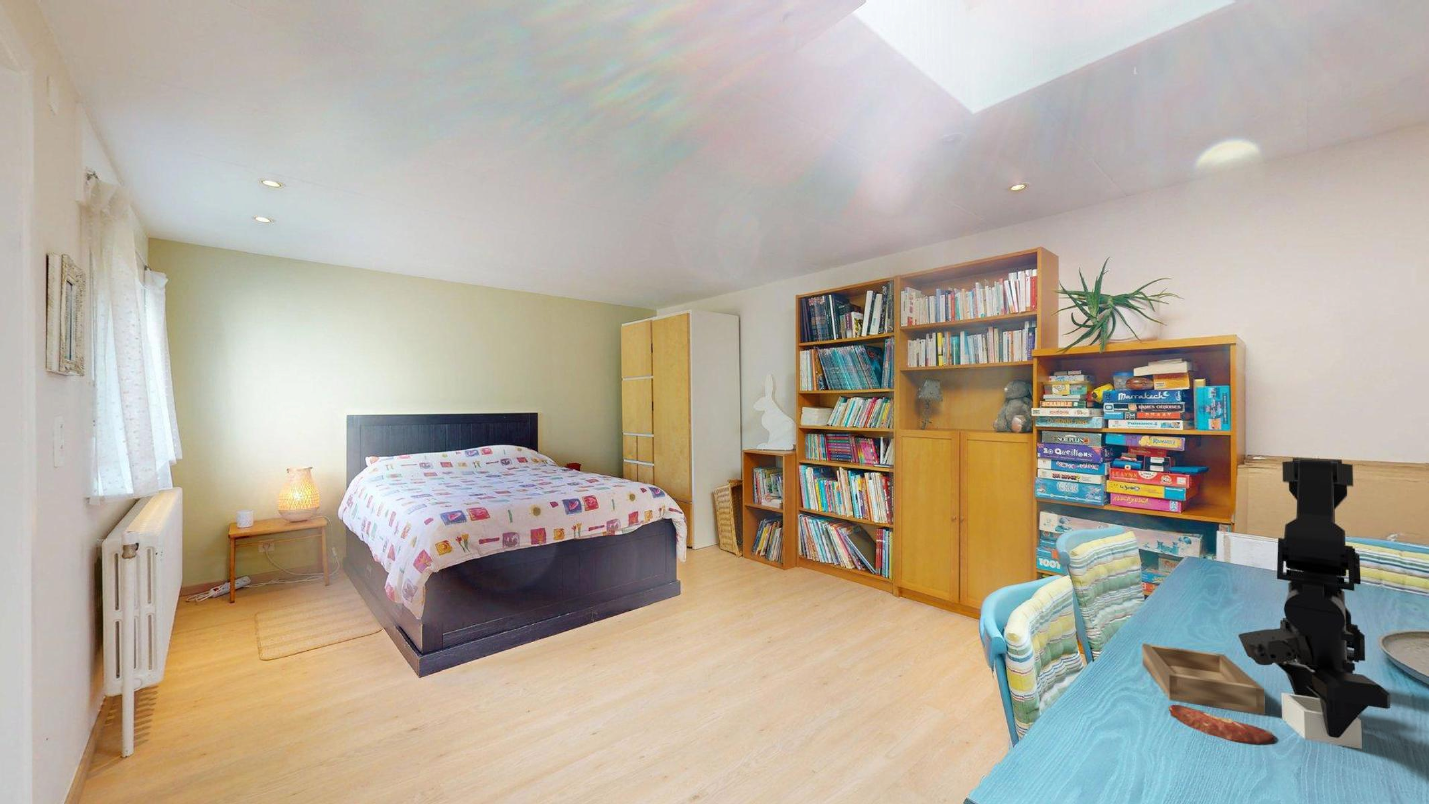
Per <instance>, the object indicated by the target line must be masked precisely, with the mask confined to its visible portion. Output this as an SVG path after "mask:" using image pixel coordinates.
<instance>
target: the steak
mask: <svg viewBox="0 0 1429 804" xmlns="http://www.w3.org/2000/svg"><path fill="white" fill-rule="evenodd" d="M1168 711H1169V713H1170V716H1171V717H1172V718H1175V719H1176V720H1177V721H1179V722H1180V723H1182V724H1184V725H1186V726H1187V727H1189V728H1191V729H1194V730H1196V731H1198V732H1201V733H1204V734H1206V735H1210V736H1213V737H1217V738H1221V739H1223V740H1226V741H1230V742H1233V743H1239V744H1246V745H1255V746H1256V745H1257V746H1260V745H1272V744H1275V742H1276V736H1275V735H1274V734H1273V732H1271V731H1269V730H1266V729H1263V728H1262V727H1261V728H1260V727H1258V726H1255V725H1251V724H1247V723H1244V722H1238V721H1235V720H1233V719H1232V718H1225V717H1219V716H1216V715H1213V714H1210V713H1207V712H1204V711H1202V710H1198V709H1195V708H1192V707H1187V706H1184V705H1181V704H1171V705H1169V707H1168Z"/></svg>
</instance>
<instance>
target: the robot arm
mask: <svg viewBox="0 0 1429 804" xmlns="http://www.w3.org/2000/svg"><path fill="white" fill-rule="evenodd" d="M1281 466H1282V470H1281V471H1282V483H1286V484H1287V483H1288V491H1289V493H1290V494H1291V495H1292V496H1293V497H1294V499H1295V501H1296V514H1295V515H1296V517H1295V518H1294V519H1292V520H1291V521H1289V522H1287V523H1286V524H1285V525H1284V532H1283V535H1284V536H1283V537H1278V538H1277V558H1276V559H1277V560H1276V561H1277V562H1276V566H1277V567H1276V579H1277V580H1282V581H1287V582H1288V584H1287V587H1288V588H1287V592H1288V593H1287V597H1286V599H1285V602H1284V605H1283V612H1284V616H1285V617H1282V619H1280V623H1279V625H1280V626H1279V627H1278V628H1272V629H1271V628H1268V629H1267V628H1266V629H1261V630H1259V629H1258V630H1256V631H1248V632H1242V633H1239V634H1238V638H1239V641H1240V643H1241V644H1242V647H1243V650H1244V651H1245V654H1246V655H1247V657H1248V658H1250V659H1252V660H1253V661H1254V662H1255V663H1256V664H1257V665H1260V666H1271V665H1272V664H1275V665H1277V667H1278V668H1280V669H1281V670H1282V671H1283V672H1284V673H1285V674H1286V676H1287V678H1288V681H1289V683H1290V685H1291V688H1292V690H1293V694H1294V695H1301V696H1308V697H1314V698H1319V699H1320V703H1321V708H1322V713H1323V718H1324V723H1325V727H1326V731H1327V734H1328V735H1329V736H1330V737H1334V738H1339V737H1340V736H1341V735H1342V734H1343V733H1344V732H1345V730H1346V729H1347V728H1348V727H1349V726H1350V725H1351V723H1352V722H1353V721H1354V720H1355V719H1356V718H1358V717H1359V716H1360V715H1361V714H1362V713H1363V711H1365V710H1366V709H1367V708H1368V707H1373V708H1378V709H1379V708H1380V709H1385V710H1388V709H1390V708H1391V693H1390V692H1388V690H1387V689H1385V688H1384V687H1382V686H1381V685H1380V684H1378V683H1377V682H1375V681H1374V680H1372V679H1371V678H1369V677H1367V676H1366V675H1364V674H1360V673H1354V672H1355V671H1356V664H1355V663H1360V662H1363V661H1364V662H1365V661H1366V645H1365V644H1366V642H1365V641H1366V640H1365V639H1366V637H1365V636H1366V635H1365V634H1364V633H1362V632H1361V629H1359V625H1358V624H1355V623H1352V613H1351V612H1350V610H1349V609H1348V607H1347V606H1346V592H1345V590H1347V591H1352V592H1355V585H1360V586H1361V584H1362V582H1361V581H1362V580H1361V556H1360V554H1359V553H1357V552H1356V548H1355V547H1354V546H1352V545H1347V544H1346V530H1345V529H1344V528H1342V527H1341V526H1339V525H1338V524H1337V523H1336V512H1335V511H1336V509H1337V508H1338V507H1339V506H1340V505H1341V504H1342V503H1343V501H1344V500H1346V498H1347V497H1348V487H1352V488H1354V466H1353V464H1348V463H1343V459H1336V458H1335V459H1333V458H1313V457H1312V458H1311V457H1310V458H1308V457H1292V460H1289V461H1288V460H1287V461H1282V463H1281ZM1284 563H1285V567H1284ZM1284 568H1286V569H1285V570H1286V571H1285V572H1284ZM1347 572H1348V581H1345V577H1346V576H1347ZM1354 662H1355V663H1354Z"/></svg>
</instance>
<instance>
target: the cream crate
mask: <svg viewBox="0 0 1429 804" xmlns="http://www.w3.org/2000/svg"><path fill="white" fill-rule="evenodd" d="M1281 719H1282V720H1283V721H1284V722H1285V721H1286V722H1285V723H1286V724H1287V725H1288V726H1290V727H1291V728H1292V729H1293V730H1294V731H1295V732H1297V734H1298V735H1300V737H1302V738H1303V739H1304V740H1309V741H1314V742H1320V743H1326V744H1331V745H1337V746H1342V747H1343V746H1344V747H1347V748H1354V749H1360V750H1362V749H1363V743H1362V738H1363V737H1362V720H1361V719H1360V718H1359V717H1357V718H1356V719H1355V720H1354V721H1353V722H1352V723H1351V725H1350V726H1349V727H1348V728H1347V729H1346V730H1345V732H1344V733H1343V734H1342V735H1341V736H1340V737H1339V738H1334V737H1330V736H1329V735H1328V734H1327V731H1326V727H1325V723H1324V718H1323V713H1322V708H1321V703H1320V699H1319V698H1314V697H1308V696H1301V695H1295V694H1294V693H1287V692H1281Z"/></svg>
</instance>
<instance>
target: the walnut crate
mask: <svg viewBox="0 0 1429 804" xmlns="http://www.w3.org/2000/svg"><path fill="white" fill-rule="evenodd" d="M1142 665H1143V667H1144V669H1146V671H1147V673H1149V675H1150V676H1151V678H1152V679H1153V678H1154V679H1153V680H1154V681H1155V682H1156V684H1157V683H1158V684H1157V685H1158V686H1159V688H1160V687H1161V688H1160V689H1161V690H1162V692H1163V691H1164V692H1165V693H1166V694H1165V693H1164V692H1163V693H1164V694H1165V695H1166V697H1167V698H1168V699H1169V700H1171V701H1174V702H1175V701H1176V702H1183V703H1188V704H1195V705H1200V706H1207V707H1212V708H1213V707H1214V708H1218V709H1225V710H1231V711H1237V712H1243V713H1247V714H1255V715H1262V716H1266V705H1265V703H1266V702H1265V700H1266V698H1265V696H1266V694H1265V689H1264V688H1263V687H1262V686H1261V685H1260V684H1259V682H1257V681H1256V680H1254V679H1253V678H1252V677H1251V676H1249V674H1247V673H1246V672H1245V671H1244V670H1242V669H1241V668H1240V667H1239V666H1238V665H1237V664H1236V663H1234V662H1233V661H1232V660H1231V659H1230V658H1229V657H1228V656H1226V655H1225V654H1222V653H1215V652H1207V651H1206V652H1205V651H1200V650H1193V649H1186V648H1185V649H1183V648H1179V647H1178V648H1177V647H1169V646H1163V645H1156V644H1149V643H1148V644H1147V643H1142Z"/></svg>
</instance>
